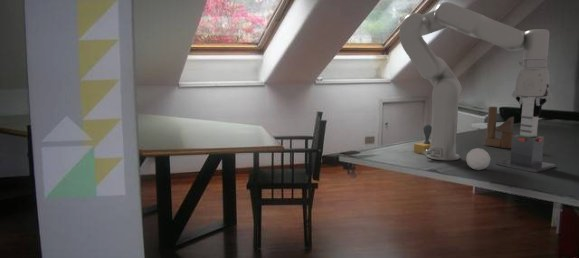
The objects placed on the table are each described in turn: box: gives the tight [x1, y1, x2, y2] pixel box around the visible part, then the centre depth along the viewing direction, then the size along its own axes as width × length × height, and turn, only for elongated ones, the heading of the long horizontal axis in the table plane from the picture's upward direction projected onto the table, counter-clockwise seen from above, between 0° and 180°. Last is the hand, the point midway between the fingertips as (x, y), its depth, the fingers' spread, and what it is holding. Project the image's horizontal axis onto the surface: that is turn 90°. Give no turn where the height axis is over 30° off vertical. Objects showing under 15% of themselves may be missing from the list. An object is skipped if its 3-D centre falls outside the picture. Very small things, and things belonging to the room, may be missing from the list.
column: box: [519, 97, 540, 138], centre depth 152 cm, size 5×4×18 cm
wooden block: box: [483, 105, 515, 149], centre depth 189 cm, size 4×11×18 cm, turn 43°
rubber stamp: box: [413, 124, 432, 155], centre depth 179 cm, size 10×6×12 cm, turn 123°
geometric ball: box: [465, 147, 491, 171], centre depth 149 cm, size 8×8×8 cm
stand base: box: [496, 134, 556, 173], centre depth 154 cm, size 14×14×11 cm
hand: (530, 115), depth 152 cm, fingers closed on column, 4 cm apart
